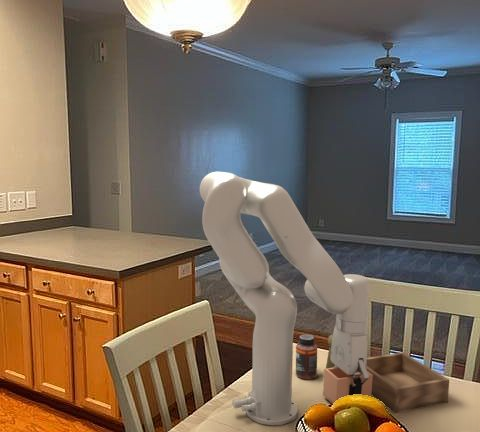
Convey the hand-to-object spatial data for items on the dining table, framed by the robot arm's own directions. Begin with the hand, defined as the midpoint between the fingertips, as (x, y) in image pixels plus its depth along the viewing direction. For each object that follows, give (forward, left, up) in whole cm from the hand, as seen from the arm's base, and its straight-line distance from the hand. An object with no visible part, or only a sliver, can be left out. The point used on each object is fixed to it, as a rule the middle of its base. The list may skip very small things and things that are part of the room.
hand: (347, 392), depth 123 cm
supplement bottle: (-3, +16, -2) cm, 16 cm away
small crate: (0, 0, -2) cm, 2 cm away
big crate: (+16, 0, -2) cm, 16 cm away
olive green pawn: (+6, +15, -2) cm, 16 cm away
